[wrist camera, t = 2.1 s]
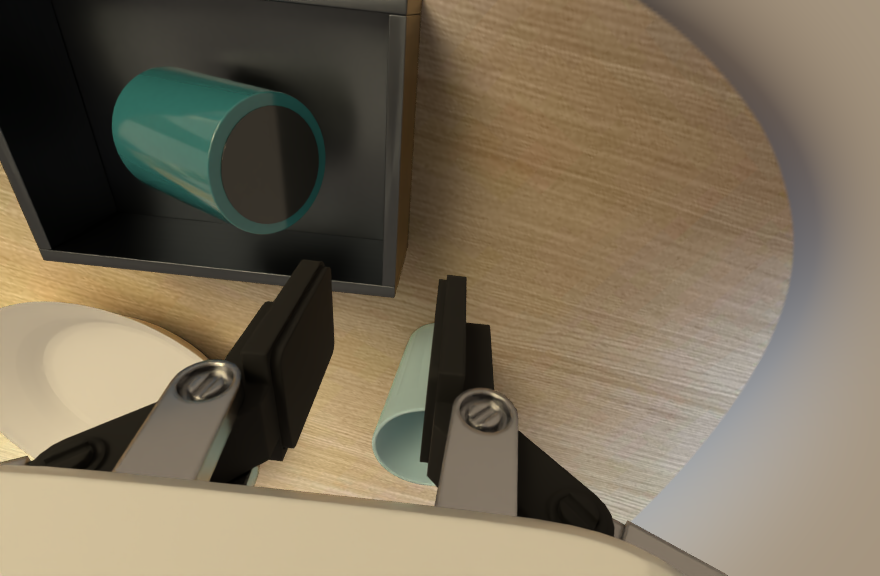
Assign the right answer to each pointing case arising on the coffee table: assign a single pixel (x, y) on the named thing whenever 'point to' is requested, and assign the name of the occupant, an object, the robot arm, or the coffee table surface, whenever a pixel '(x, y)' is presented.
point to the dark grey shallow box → (232, 57)
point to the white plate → (79, 369)
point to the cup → (406, 412)
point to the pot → (221, 146)
